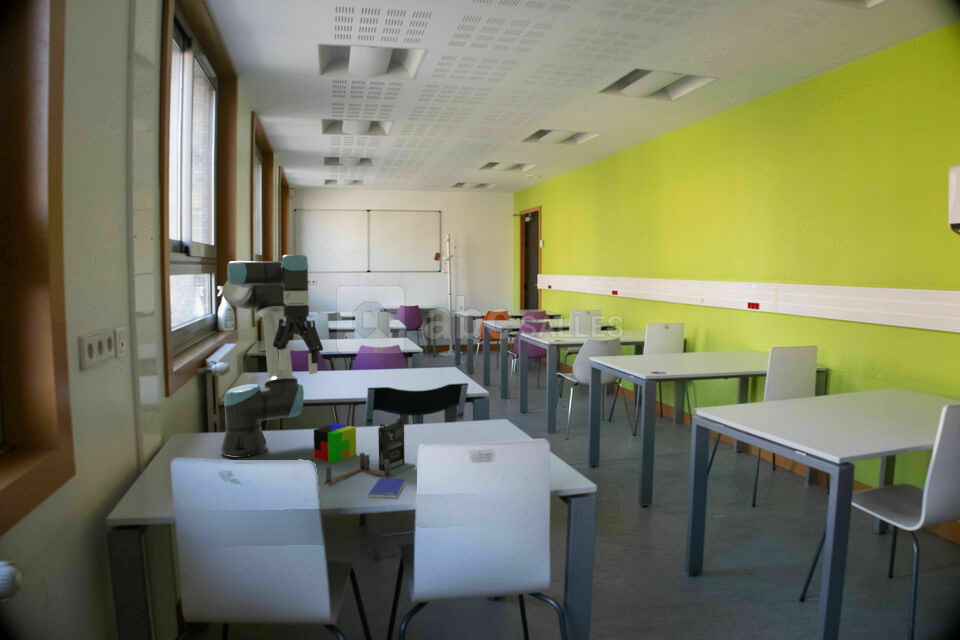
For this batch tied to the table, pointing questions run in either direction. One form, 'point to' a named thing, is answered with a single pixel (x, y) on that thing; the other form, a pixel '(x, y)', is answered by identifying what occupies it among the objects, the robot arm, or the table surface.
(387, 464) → the narrow gate
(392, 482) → the blue book
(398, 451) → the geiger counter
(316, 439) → the puzzle toy
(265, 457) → the table surface
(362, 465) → the wide gate
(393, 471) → the pad
